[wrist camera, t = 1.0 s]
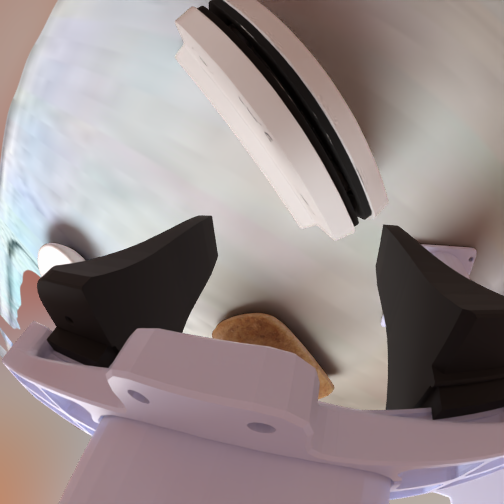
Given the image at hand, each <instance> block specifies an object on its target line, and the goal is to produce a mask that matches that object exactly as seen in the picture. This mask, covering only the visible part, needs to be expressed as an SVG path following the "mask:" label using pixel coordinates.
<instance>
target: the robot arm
mask: <svg viewBox="0 0 504 504" xmlns="http://www.w3.org/2000/svg"><path fill="white" fill-rule="evenodd" d="M476 255H477V251H476V250H475V249H474V248H469V247H456V246H442V245H427V244H420V243H418V242H417V241H416V240H415V239H414V238H413V237H411V236H410V235H409V234H408V233H407V232H405V231H404V230H403V229H401V228H400V227H398V226H394V225H383V230H382V236H381V242H380V247H379V253H378V258H377V263H376V275H377V286H378V291H379V296H380V300H381V305H382V310H383V315H382V319H381V326H383V327H386V332H387V343H388V387H387V402H386V410H357V409H352V408H347V407H343V406H338V405H333V404H329V403H325V402H321V401H318V396H319V386H320V382H319V378H318V375H317V371H316V368H314V367H313V366H311V365H310V364H309V363H307V362H306V361H304V360H303V359H302V358H300V357H299V356H297V355H296V354H295V353H291V352H288V351H284V350H280V349H276V348H273V347H269V346H261V345H253V344H246V343H239V342H232V341H225V340H219V339H213V338H207V337H201V336H195V335H190V334H185V333H182V332H183V329H184V327H185V324H186V321H187V319H188V317H189V315H190V313H191V310H192V309H193V307H194V305H195V303H196V301H197V300H198V298H199V296H200V294H201V292H202V290H203V289H204V287H205V285H206V283H207V281H208V279H209V278H210V276H211V274H212V271H213V269H214V266H215V263H216V260H217V257H218V253H217V246H216V240H215V233H214V227H213V220H212V216H196V217H193V218H191V219H189V220H186V221H184V222H182V223H180V224H178V225H176V226H174V227H173V228H171V229H169V230H167V231H165V232H163V233H161V234H159V235H157V236H154V237H152V238H150V239H148V240H146V241H144V242H142V243H139V244H137V245H135V246H132V247H129V248H127V249H124V250H121V251H118V252H115V253H112V254H109V255H106V256H102V257H98V258H95V259H90V260H86V261H81V262H76V263H69V264H62V265H55V266H53V267H52V268H51V269H50V270H49V271H47V272H46V273H45V274H44V275H43V276H42V277H41V278H40V279H39V281H38V283H37V289H38V294H39V297H40V299H41V301H42V303H43V305H44V307H45V308H46V310H47V312H48V313H49V315H50V317H51V319H52V320H53V322H54V323H55V325H56V326H57V327H56V328H55V330H54V331H53V332H52V331H51V330H50V329H49V328H47V327H46V326H44V325H41V324H39V323H37V322H35V321H33V322H32V323H31V324H30V325H29V327H28V328H27V329H26V330H25V331H24V332H23V334H22V335H21V336H20V337H19V339H18V340H17V341H16V342H15V344H14V345H13V346H12V347H11V349H10V350H9V351H8V352H7V354H6V355H5V356H4V358H3V359H2V362H3V364H4V365H5V366H6V367H7V368H8V369H9V371H10V372H11V373H12V374H13V375H14V376H15V377H16V378H17V379H18V381H19V382H20V383H21V384H22V385H23V386H24V387H25V388H26V389H27V390H28V391H29V392H30V393H31V394H32V395H33V396H34V397H35V398H36V399H38V400H39V401H40V402H42V403H43V404H45V405H46V406H47V407H49V408H50V409H52V410H53V411H54V412H56V413H57V414H59V415H60V416H62V417H63V418H64V419H66V420H68V421H69V422H70V423H72V424H73V425H75V426H77V427H78V428H80V429H81V430H83V431H84V432H86V433H88V434H89V435H91V436H92V438H91V440H90V442H89V443H88V445H87V447H86V449H85V451H84V453H83V455H82V457H81V459H80V461H79V462H78V465H77V466H76V468H75V471H74V473H73V474H72V476H71V479H70V480H69V482H68V484H67V487H66V489H65V491H64V493H63V495H62V497H61V499H60V501H59V503H58V504H389V500H393V499H399V498H405V497H411V496H416V495H421V494H426V493H430V492H434V493H438V494H441V495H444V496H447V497H449V498H450V501H451V504H504V296H503V295H500V294H498V293H496V292H493V291H491V290H489V289H487V288H485V287H483V286H481V285H479V284H477V283H475V282H473V281H472V280H471V279H470V277H469V275H470V272H471V270H472V267H473V264H474V261H475V258H476ZM470 257H472V258H471V259H469V258H470Z"/></svg>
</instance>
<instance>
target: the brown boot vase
mask: <svg viewBox="0 0 504 504" xmlns="http://www.w3.org/2000/svg"><path fill="white" fill-rule="evenodd" d="M212 337H213V339H219V340H225V341H232V342H239V343H246V344H253V345H261V346H269V347H273V348H276V349H280V350H284V351H288V352H291V353H295V354H296V355H297V356H299V357H300V358H302V359H303V360H304V361H306V362H307V363H309V364H310V365H311V366H313V367H314V368H316V371H317V375H318V378H319V382H320V386H319V396H318V399H320V398H323V397H326V396H328V395H329V394H330V393H332V392H333V390H334V385H333V384H332V382H331V381H330V379H329V378H328V376H327V375H326V373H325V372H324V371H323V369H322V368H321V367H320V365H319V364H318V363H317V362H316V360H315V359H314V358H313V356H312V355H311V354H310V353H309V351H308V350H307V349H306V348H305V347H304V345H303V344H302V343H301V342H300V341H299V340H298V339H297V338H296V336H295V335H294V334H293V333H292V332H291V331H290V330H289V329H288V328H287V327H286V326H285V325H284V324H283V323H282V322H281V321H279V320H278V319H276V318H275V317H273V316H271V315H268V314H264V313H249V314H242V315H238V316H234V317H231V318H229V319H226V320H224V321H222V322H220V323H219V324H218V325H217V327H216V329H214V330H213V333H212Z"/></svg>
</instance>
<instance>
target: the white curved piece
mask: <svg viewBox="0 0 504 504" xmlns="http://www.w3.org/2000/svg"><path fill="white" fill-rule="evenodd" d="M175 24H176V26H177V28H178V31H179V33H180V35H181V37H182V40H183V42H184V44H183V46H182V47H181V48H180V50H179V51H178V52H177V54H176V55H175V58H176V60H177V61H178V62H179V64H180V65H181V66H182V67H183V68H184V70H185V71H186V72H187V73H188V75H189V76H190V77H191V78H192V80H193V81H194V82H195V83H196V85H197V86H198V87H199V88H200V90H201V91H202V92H203V93H204V95H205V96H206V97H207V98H208V100H209V101H210V102H211V104H212V105H213V106H214V107H215V109H216V110H217V111H218V113H219V114H220V115H221V117H222V118H223V119H224V121H225V122H226V123H227V125H228V126H229V127H230V129H231V130H232V131H233V133H234V134H235V135H236V137H237V138H238V139H239V141H240V142H241V143H242V145H243V146H244V147H245V149H246V150H247V152H248V153H249V154H250V156H251V157H252V159H253V160H254V161H255V163H256V164H257V165H258V167H259V168H260V170H261V171H262V173H263V174H264V175H265V177H266V178H267V180H268V181H269V183H270V184H271V185H272V187H273V188H274V190H275V191H276V193H277V194H278V196H279V197H280V198H281V200H282V201H283V203H284V204H285V206H286V207H287V209H288V210H289V212H290V213H291V215H292V216H293V218H294V219H295V221H296V222H297V224H298V225H299V227H300V228H301V229H303V228H307V227H311V226H315V225H317V226H319V227H320V228H321V229H322V230H323V231H324V232H325V233H326V234H328V235H329V236H330V237H331V238H332V239H333V240H334V241H336V240H339V239H341V238H343V237H345V236H348V235H350V234H352V233H355V228H354V227H355V226H356V225H358V224H359V221H358V218H357V217H360V218H362V219H364V220H365V219H366V218H370V219H372V220H373V219H375V218H376V217H377V216H378V214H379V213H380V212H381V211H382V210H383V209H384V208H385V207H386V205H387V204H388V197H387V194H386V190H385V187H384V183H383V180H382V178H381V175H380V172H379V169H378V167H377V164H376V161H375V159H374V157H373V154H372V152H371V150H370V148H369V146H368V143H367V141H366V139H365V137H364V135H363V133H362V131H361V129H360V127H359V125H358V123H357V121H356V119H355V117H354V115H353V114H352V112H351V110H350V109H349V107H348V105H347V104H346V102H345V100H344V99H343V97H342V96H341V94H340V92H339V91H338V89H337V88H336V86H335V85H334V83H333V82H332V80H331V79H330V77H329V76H328V75H327V73H326V72H325V70H324V69H323V68H322V66H321V65H320V64H319V63H318V61H317V60H316V59H315V57H314V56H313V55H312V54H311V53H310V51H309V50H308V49H307V48H306V47H305V46H304V45H303V43H302V42H301V41H300V40H299V39H298V38H297V37H296V36H295V35H294V34H293V33H292V32H291V30H290V29H289V28H288V27H287V26H286V25H285V24H284V23H283V22H282V21H280V20H279V19H278V18H277V17H276V16H275V15H274V14H273V13H272V12H271V11H269V10H268V9H267V8H266V7H265V6H263V5H262V4H261V3H259V2H258V1H257V0H211V1H210V2H209V10H208V9H207V8H206V7H204V6H200V7H199V8H195V7H191V8H189V9H188V10H187V11H186V12H185V13H184V14H183V15H181V16H180V17H179V18H178V19H177V20H176V21H175Z"/></svg>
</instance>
